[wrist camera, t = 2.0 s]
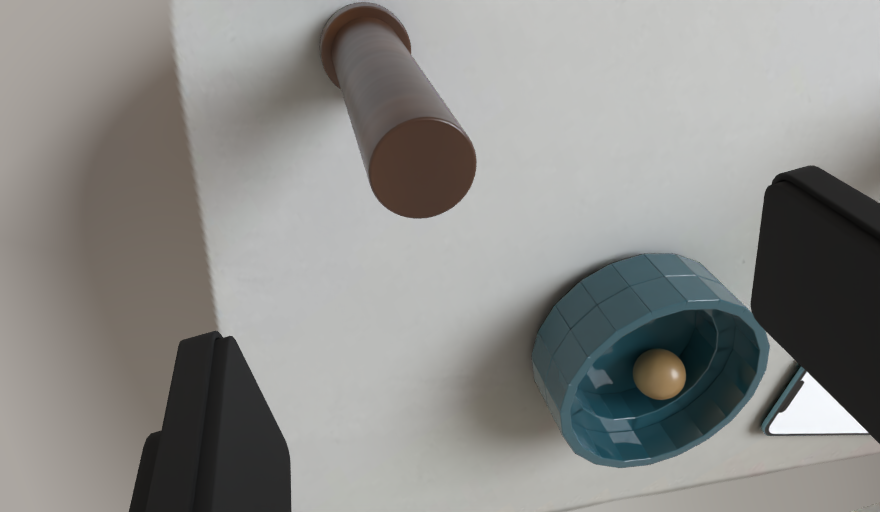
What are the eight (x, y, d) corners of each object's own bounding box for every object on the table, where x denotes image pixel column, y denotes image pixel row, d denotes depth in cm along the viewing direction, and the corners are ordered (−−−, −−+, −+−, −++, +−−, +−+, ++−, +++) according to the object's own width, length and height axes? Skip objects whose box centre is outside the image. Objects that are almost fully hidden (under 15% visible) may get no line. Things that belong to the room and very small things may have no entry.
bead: (624, 381, 40) (647, 416, 37) (623, 346, 38) (648, 381, 35) (668, 367, 40) (695, 401, 37) (669, 332, 38) (697, 365, 36)
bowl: (538, 427, 41) (568, 491, 37) (517, 282, 34) (552, 341, 30) (709, 373, 42) (756, 430, 38) (722, 222, 35) (782, 272, 31)
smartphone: (968, 356, 48) (809, 348, 43) (975, 361, 47) (815, 353, 42) (907, 431, 52) (754, 431, 46) (912, 435, 51) (758, 437, 46)
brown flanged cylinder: (333, 101, 27) (372, 248, 17) (308, 14, 25) (335, 123, 15) (415, 80, 27) (500, 212, 17) (397, -8, 25) (481, 85, 15)
